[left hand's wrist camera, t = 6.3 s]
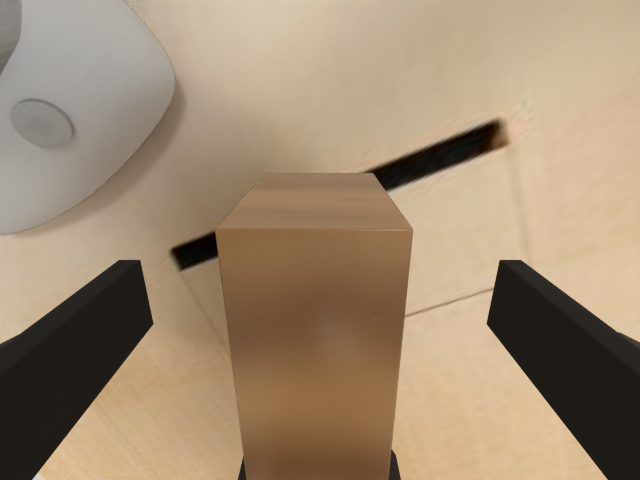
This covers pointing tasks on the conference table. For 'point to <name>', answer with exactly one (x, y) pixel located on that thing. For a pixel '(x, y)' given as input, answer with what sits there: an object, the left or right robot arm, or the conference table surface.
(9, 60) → the projector
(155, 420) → the conference table surface
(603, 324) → the left robot arm
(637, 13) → the conference table surface
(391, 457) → the right robot arm
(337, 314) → the box
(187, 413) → the conference table surface
